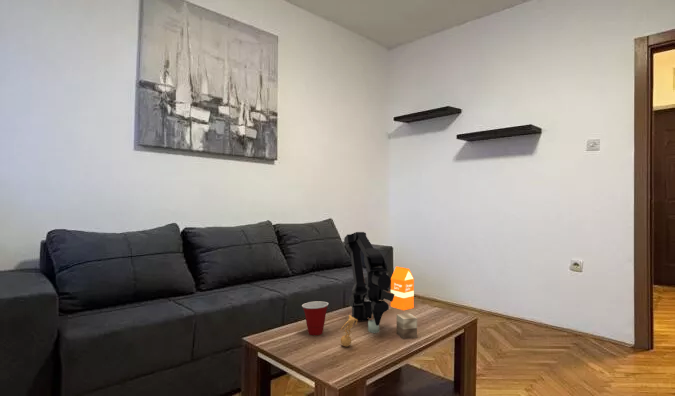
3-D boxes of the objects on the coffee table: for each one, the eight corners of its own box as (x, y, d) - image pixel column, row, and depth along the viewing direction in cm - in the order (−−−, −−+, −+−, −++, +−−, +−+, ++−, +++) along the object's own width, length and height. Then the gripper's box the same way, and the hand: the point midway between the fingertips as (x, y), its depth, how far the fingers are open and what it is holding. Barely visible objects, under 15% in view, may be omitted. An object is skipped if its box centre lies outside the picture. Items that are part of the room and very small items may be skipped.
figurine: (349, 341, 146) (350, 310, 146) (361, 346, 141) (361, 313, 141) (334, 347, 140) (334, 314, 140) (345, 352, 135) (346, 318, 135)
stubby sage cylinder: (370, 333, 155) (370, 323, 155) (366, 329, 159) (366, 320, 159) (380, 332, 156) (380, 322, 156) (376, 328, 161) (377, 319, 161)
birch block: (403, 329, 149) (403, 319, 149) (396, 324, 155) (396, 314, 155) (417, 328, 151) (417, 317, 151) (409, 323, 156) (410, 313, 156)
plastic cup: (311, 326, 162) (311, 298, 162) (333, 331, 157) (333, 302, 157) (296, 334, 153) (296, 304, 153) (318, 339, 147) (318, 308, 147)
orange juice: (403, 310, 187) (404, 269, 187) (390, 306, 194) (390, 267, 194) (414, 307, 192) (414, 267, 192) (400, 303, 199) (400, 265, 199)
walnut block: (402, 339, 149) (402, 329, 149) (396, 334, 155) (396, 324, 155) (416, 338, 151) (417, 328, 151) (410, 333, 156) (410, 323, 156)
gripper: (401, 288, 151) (400, 327, 151) (384, 278, 169) (383, 313, 169) (374, 289, 148) (374, 329, 148) (359, 279, 166) (359, 315, 166)
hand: (373, 321), depth 158 cm, fingers open, 9 cm apart
